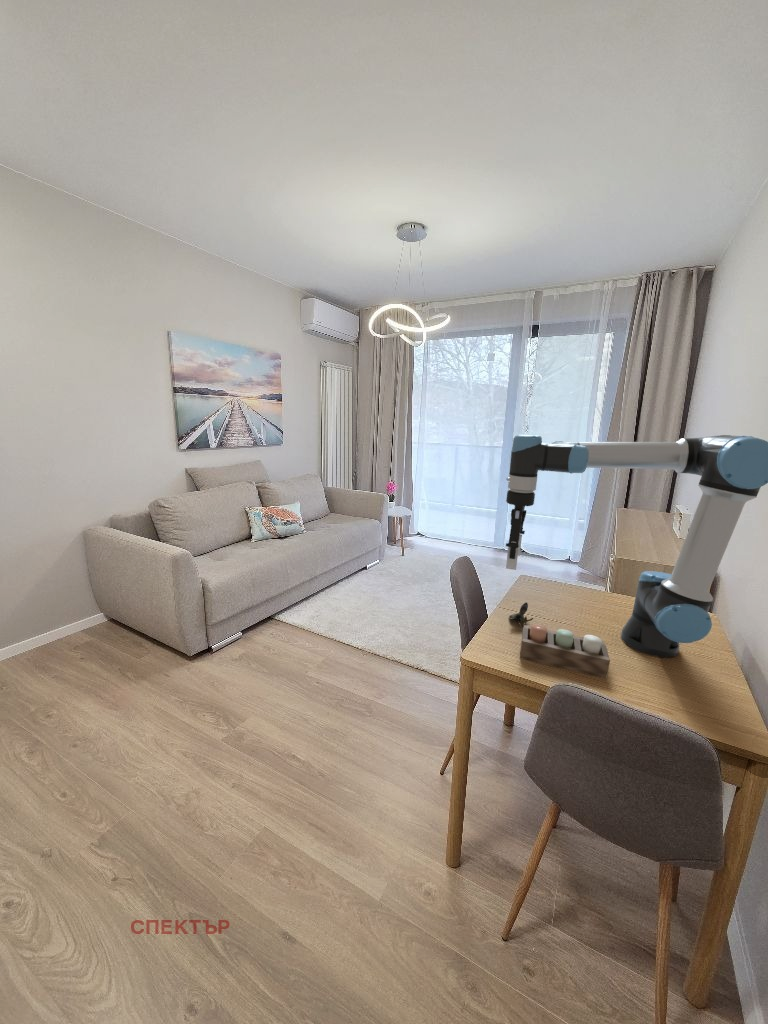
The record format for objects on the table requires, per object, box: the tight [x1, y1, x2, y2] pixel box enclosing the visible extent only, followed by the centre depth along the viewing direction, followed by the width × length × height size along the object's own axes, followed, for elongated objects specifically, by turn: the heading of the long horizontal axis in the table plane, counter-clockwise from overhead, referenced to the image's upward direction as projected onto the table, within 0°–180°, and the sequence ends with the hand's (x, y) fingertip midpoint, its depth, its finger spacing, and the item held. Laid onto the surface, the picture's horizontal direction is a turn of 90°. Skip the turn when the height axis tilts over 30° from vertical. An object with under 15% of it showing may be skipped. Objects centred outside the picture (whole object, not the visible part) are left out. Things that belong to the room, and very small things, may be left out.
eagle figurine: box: [508, 602, 534, 629], centre depth 137 cm, size 8×7×9 cm
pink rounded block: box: [529, 623, 548, 643], centre depth 119 cm, size 4×4×5 cm
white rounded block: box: [582, 634, 603, 655], centre depth 114 cm, size 4×4×5 cm
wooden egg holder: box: [519, 624, 611, 680], centre depth 117 cm, size 22×10×6 cm, turn 69°
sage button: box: [555, 628, 575, 649], centre depth 116 cm, size 4×4×5 cm
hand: (513, 561), depth 122 cm, fingers open, 13 cm apart
